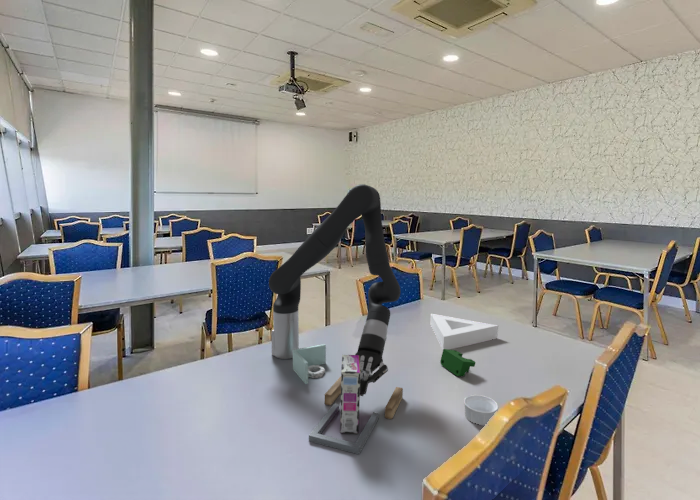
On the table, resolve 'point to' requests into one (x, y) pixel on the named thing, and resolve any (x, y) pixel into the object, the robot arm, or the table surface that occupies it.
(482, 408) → the ramekin
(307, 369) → the right angle wall
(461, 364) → the clamp
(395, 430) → the table surface
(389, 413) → the oak rails
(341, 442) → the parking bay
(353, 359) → the candy bar box
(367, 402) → the table surface
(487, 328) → the triangle block
